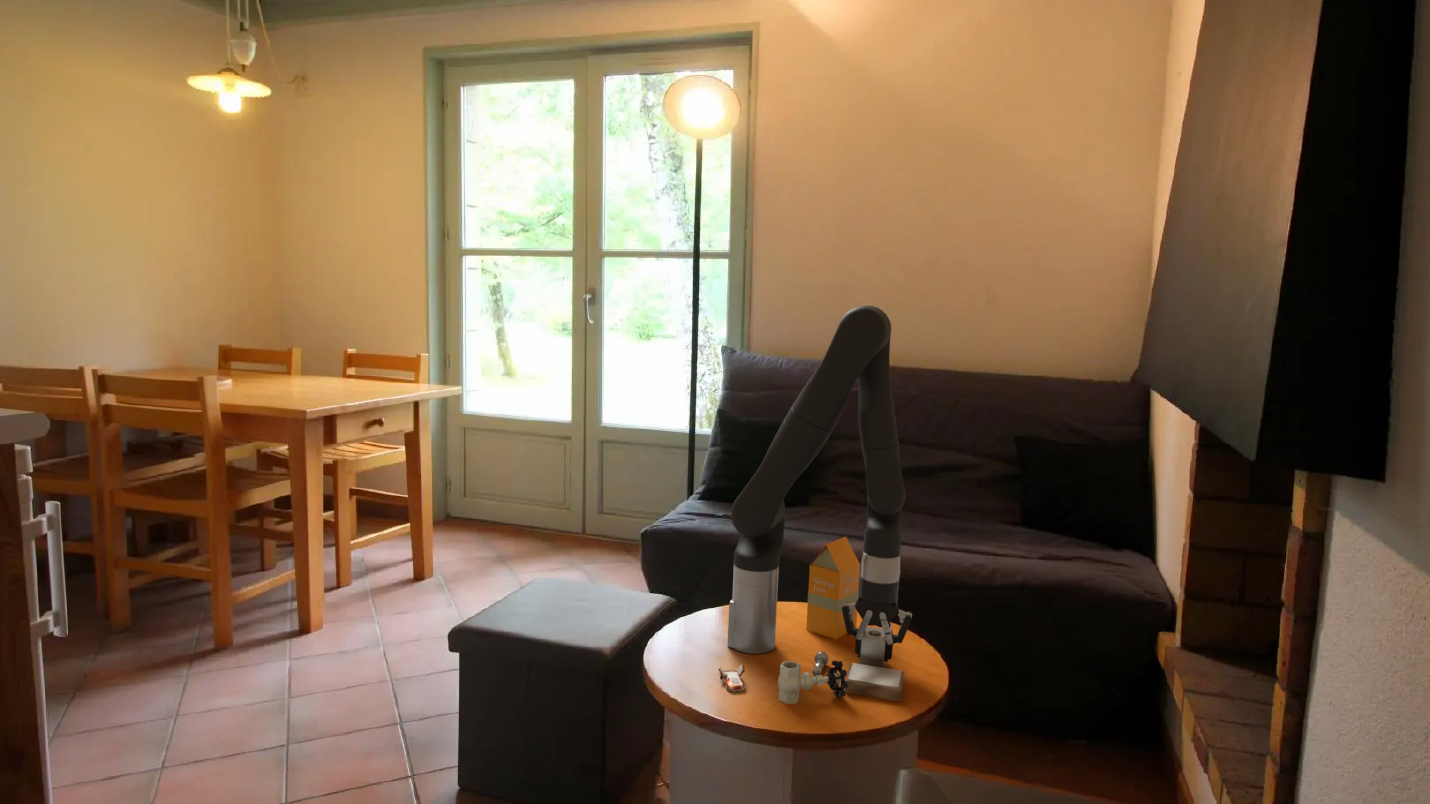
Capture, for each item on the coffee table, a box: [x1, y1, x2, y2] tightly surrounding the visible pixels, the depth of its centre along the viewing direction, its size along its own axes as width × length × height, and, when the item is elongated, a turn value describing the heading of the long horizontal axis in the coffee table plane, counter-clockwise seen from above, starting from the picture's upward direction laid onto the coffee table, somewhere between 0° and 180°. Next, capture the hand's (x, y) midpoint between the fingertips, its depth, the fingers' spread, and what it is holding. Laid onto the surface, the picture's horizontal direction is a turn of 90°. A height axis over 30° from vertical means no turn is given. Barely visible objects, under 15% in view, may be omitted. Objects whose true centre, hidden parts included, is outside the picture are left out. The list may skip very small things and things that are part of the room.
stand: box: [844, 662, 905, 702], centre depth 158 cm, size 10×8×2 cm
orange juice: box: [805, 536, 861, 640], centre depth 184 cm, size 8×9×20 cm
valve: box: [777, 660, 848, 705], centre depth 153 cm, size 7×7×12 cm
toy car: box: [717, 664, 746, 692], centre depth 158 cm, size 5×8×3 cm, turn 12°
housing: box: [859, 625, 886, 668], centre depth 167 cm, size 4×6×6 cm
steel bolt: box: [812, 650, 829, 677], centre depth 165 cm, size 6×3×3 cm, turn 163°
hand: (873, 657), depth 167 cm, fingers closed on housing, 4 cm apart
